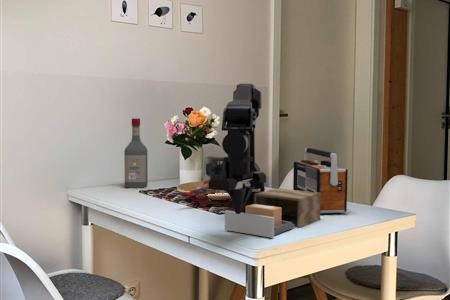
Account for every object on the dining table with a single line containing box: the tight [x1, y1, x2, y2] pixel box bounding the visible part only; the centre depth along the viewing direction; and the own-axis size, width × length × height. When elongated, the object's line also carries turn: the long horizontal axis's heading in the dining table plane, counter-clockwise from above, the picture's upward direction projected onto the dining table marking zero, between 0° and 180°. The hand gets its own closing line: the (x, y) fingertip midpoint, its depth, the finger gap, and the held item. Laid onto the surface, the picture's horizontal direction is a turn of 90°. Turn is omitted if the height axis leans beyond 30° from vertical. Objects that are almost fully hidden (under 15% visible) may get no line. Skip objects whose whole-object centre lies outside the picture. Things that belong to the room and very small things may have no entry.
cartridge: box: [245, 204, 283, 227], centre depth 136 cm, size 9×4×5 cm, turn 55°
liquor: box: [123, 118, 149, 189], centre depth 213 cm, size 9×9×30 cm
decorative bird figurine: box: [177, 181, 216, 207], centre depth 168 cm, size 3×18×10 cm, turn 129°
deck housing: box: [254, 187, 321, 229], centre depth 148 cm, size 14×15×8 cm
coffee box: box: [202, 155, 228, 193], centre depth 183 cm, size 9×6×16 cm
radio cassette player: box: [292, 147, 348, 215], centre depth 169 cm, size 29×10×20 cm, turn 8°
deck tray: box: [224, 209, 295, 239], centre depth 136 cm, size 14×15×5 cm
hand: (238, 213), depth 126 cm, fingers closed
